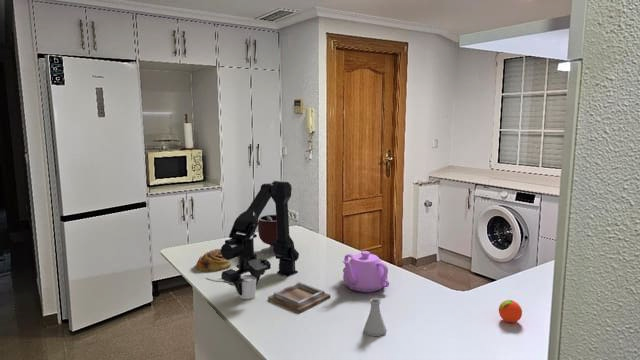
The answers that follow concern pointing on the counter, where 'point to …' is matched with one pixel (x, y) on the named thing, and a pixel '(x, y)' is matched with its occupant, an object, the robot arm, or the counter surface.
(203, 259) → the pastry
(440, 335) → the counter surface
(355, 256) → the teapot
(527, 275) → the counter surface
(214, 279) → the pliers
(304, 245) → the counter surface
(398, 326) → the counter surface
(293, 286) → the brown square tray
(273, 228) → the dark red goblet shape
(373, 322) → the flask
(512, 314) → the clementine
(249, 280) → the shot glass
